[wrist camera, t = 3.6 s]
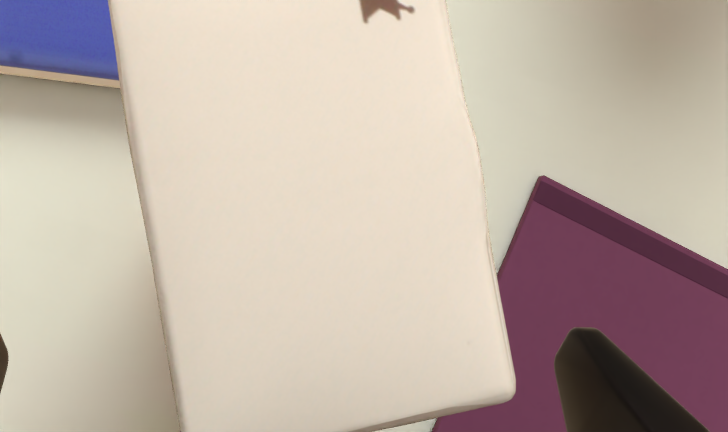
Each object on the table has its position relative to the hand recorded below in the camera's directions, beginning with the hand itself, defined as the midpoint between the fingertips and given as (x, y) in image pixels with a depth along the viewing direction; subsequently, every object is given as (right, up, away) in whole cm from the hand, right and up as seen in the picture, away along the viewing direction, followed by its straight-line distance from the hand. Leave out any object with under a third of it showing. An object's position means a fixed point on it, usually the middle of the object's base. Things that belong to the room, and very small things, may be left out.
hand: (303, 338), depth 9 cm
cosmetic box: (-2, +1, +10) cm, 10 cm away
